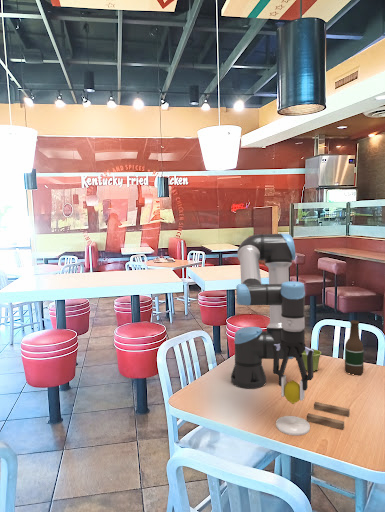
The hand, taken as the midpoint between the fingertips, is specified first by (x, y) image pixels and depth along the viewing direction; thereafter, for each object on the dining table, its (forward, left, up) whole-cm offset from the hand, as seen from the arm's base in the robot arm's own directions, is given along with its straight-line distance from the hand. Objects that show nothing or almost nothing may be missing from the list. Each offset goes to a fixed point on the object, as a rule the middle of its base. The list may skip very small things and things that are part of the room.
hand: (292, 396), depth 131 cm
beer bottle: (+10, +60, -11) cm, 62 cm away
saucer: (0, 0, -10) cm, 10 cm away
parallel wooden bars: (+9, +12, -10) cm, 18 cm away
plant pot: (-8, +54, -11) cm, 56 cm away
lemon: (0, 0, -3) cm, 3 cm away
